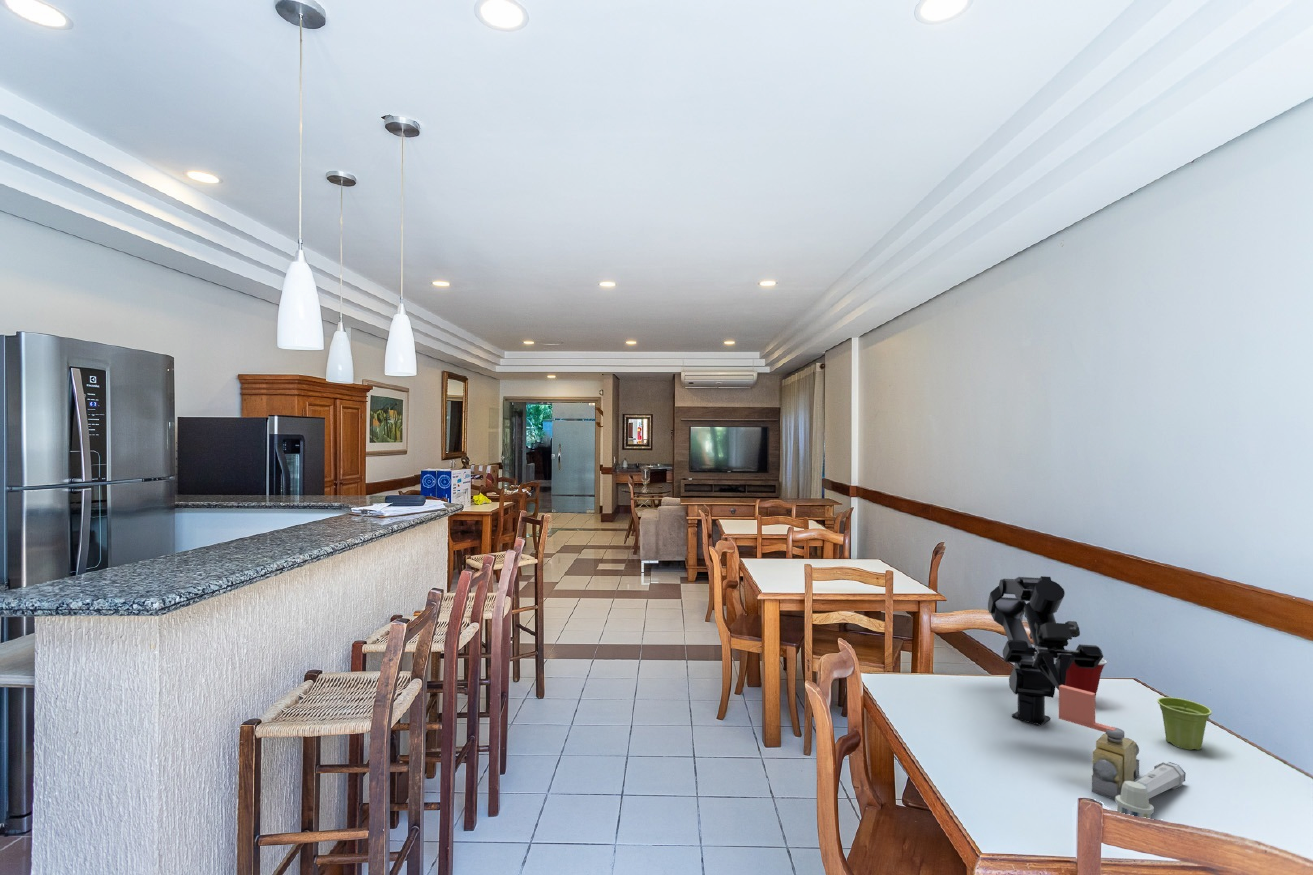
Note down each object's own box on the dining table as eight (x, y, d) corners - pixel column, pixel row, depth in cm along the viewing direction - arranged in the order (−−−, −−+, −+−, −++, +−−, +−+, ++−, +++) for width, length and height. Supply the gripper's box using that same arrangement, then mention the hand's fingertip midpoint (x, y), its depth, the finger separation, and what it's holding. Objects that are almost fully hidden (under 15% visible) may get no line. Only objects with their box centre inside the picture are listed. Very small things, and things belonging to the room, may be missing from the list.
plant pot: (1212, 744, 143) (1212, 705, 143) (1210, 758, 136) (1210, 717, 136) (1159, 731, 149) (1159, 693, 150) (1155, 744, 143) (1155, 705, 143)
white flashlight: (1190, 766, 125) (1147, 787, 110) (1189, 802, 124) (1145, 828, 109) (1157, 756, 129) (1111, 775, 114) (1156, 790, 128) (1109, 814, 114)
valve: (1114, 765, 133) (1114, 720, 133) (1142, 774, 129) (1142, 728, 129) (1089, 791, 122) (1089, 742, 122) (1118, 801, 119) (1118, 751, 119)
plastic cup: (1117, 709, 162) (1117, 661, 162) (1074, 708, 162) (1074, 661, 162) (1089, 693, 173) (1089, 648, 173) (1048, 692, 173) (1048, 647, 173)
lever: (1126, 735, 125) (1126, 699, 125) (1121, 739, 123) (1121, 703, 123) (1062, 717, 133) (1062, 683, 134) (1057, 720, 132) (1057, 687, 132)
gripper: (1006, 603, 145) (1023, 669, 134) (1099, 609, 141) (1124, 676, 130) (995, 629, 152) (1011, 693, 141) (1083, 635, 149) (1106, 701, 138)
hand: (1062, 690), depth 137 cm, fingers closed
